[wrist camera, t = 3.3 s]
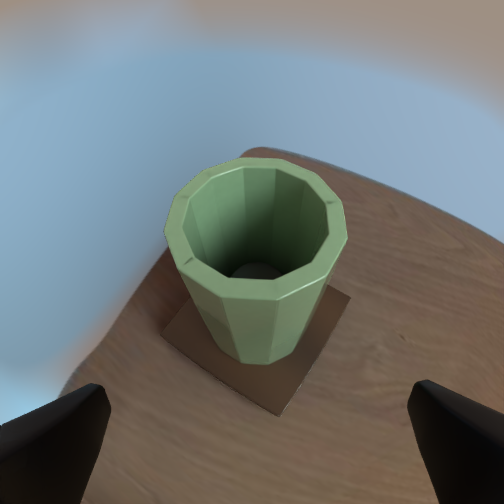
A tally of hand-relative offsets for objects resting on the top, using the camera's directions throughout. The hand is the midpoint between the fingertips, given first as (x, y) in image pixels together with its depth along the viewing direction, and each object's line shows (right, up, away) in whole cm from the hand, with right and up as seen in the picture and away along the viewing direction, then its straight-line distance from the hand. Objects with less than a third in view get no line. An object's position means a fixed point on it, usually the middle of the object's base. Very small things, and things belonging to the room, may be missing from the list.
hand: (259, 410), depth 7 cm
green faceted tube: (0, 0, +13) cm, 13 cm away
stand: (0, -1, +14) cm, 14 cm away
